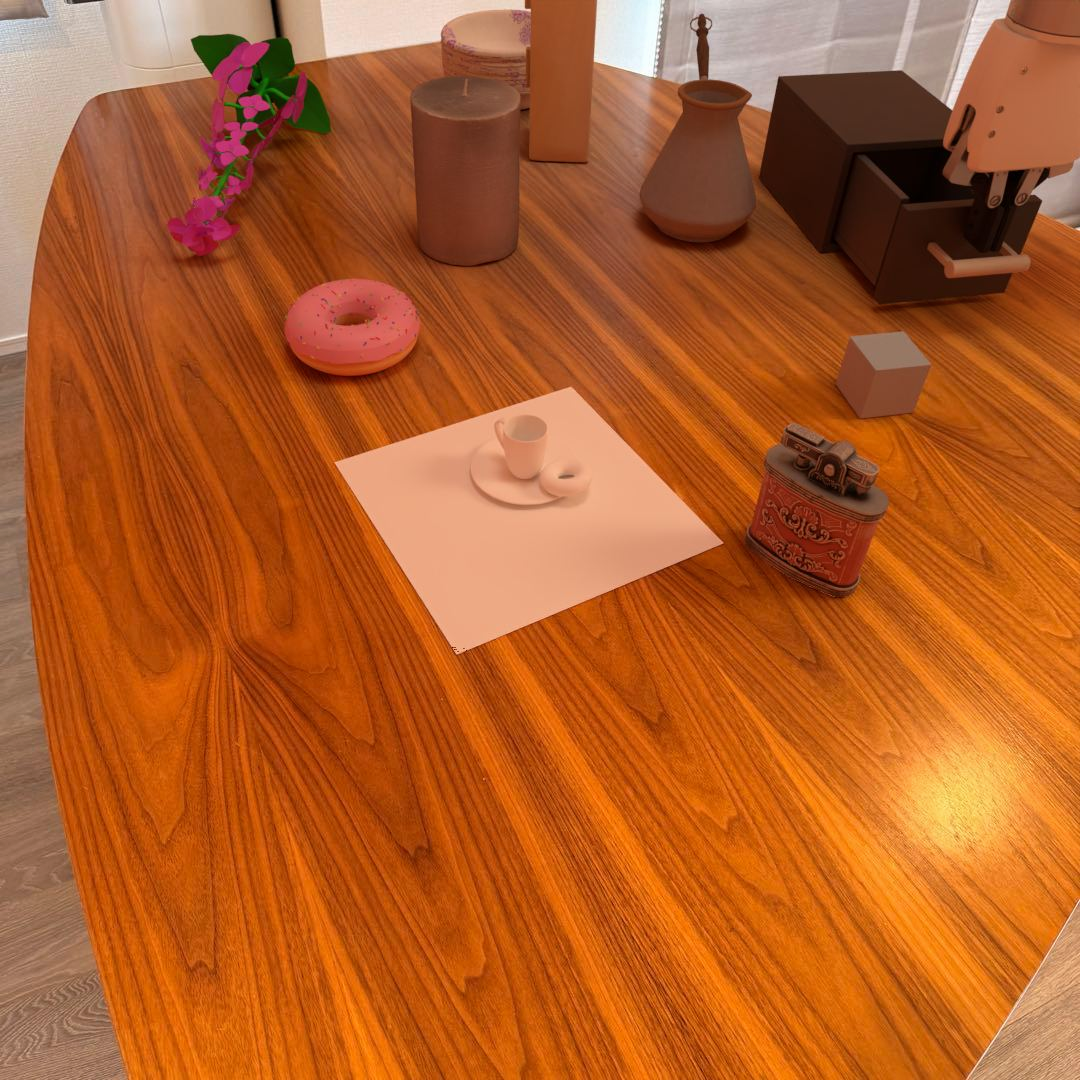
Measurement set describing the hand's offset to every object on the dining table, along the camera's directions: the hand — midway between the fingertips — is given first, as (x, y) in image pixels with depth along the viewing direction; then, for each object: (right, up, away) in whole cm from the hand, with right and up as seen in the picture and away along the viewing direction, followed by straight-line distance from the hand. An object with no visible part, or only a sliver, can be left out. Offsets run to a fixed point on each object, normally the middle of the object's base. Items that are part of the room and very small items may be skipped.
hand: (980, 244), depth 82 cm
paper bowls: (-41, +29, +38) cm, 63 cm away
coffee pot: (-21, +10, +20) cm, 31 cm away
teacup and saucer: (-38, -22, -14) cm, 46 cm away
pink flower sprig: (-67, +12, +20) cm, 71 cm away
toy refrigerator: (-35, +19, +28) cm, 49 cm away
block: (-10, -14, -4) cm, 18 cm away
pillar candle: (-44, +4, +12) cm, 46 cm away
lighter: (-20, -26, -17) cm, 37 cm away
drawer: (-2, +1, +9) cm, 9 cm away
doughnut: (-52, -9, -1) cm, 53 cm away
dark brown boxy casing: (-5, +10, +19) cm, 22 cm away
